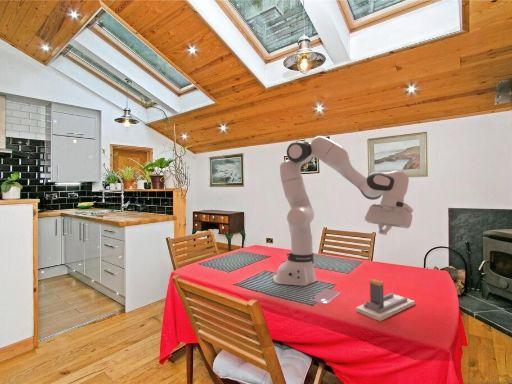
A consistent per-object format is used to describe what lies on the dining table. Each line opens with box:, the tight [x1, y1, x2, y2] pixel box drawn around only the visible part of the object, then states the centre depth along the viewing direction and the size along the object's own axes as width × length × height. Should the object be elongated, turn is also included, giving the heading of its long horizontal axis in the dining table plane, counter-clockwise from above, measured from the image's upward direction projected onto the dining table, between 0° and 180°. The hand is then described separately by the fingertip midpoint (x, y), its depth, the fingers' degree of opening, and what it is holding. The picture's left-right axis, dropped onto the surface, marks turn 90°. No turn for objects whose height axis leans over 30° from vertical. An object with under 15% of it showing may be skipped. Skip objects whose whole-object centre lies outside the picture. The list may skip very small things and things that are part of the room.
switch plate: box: [355, 292, 416, 322], centre depth 109 cm, size 24×10×4 cm, turn 123°
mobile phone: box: [310, 288, 341, 305], centre depth 122 cm, size 8×1×15 cm
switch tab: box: [369, 278, 385, 308], centre depth 106 cm, size 3×4×10 cm, turn 33°
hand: (382, 234), depth 122 cm, fingers closed
